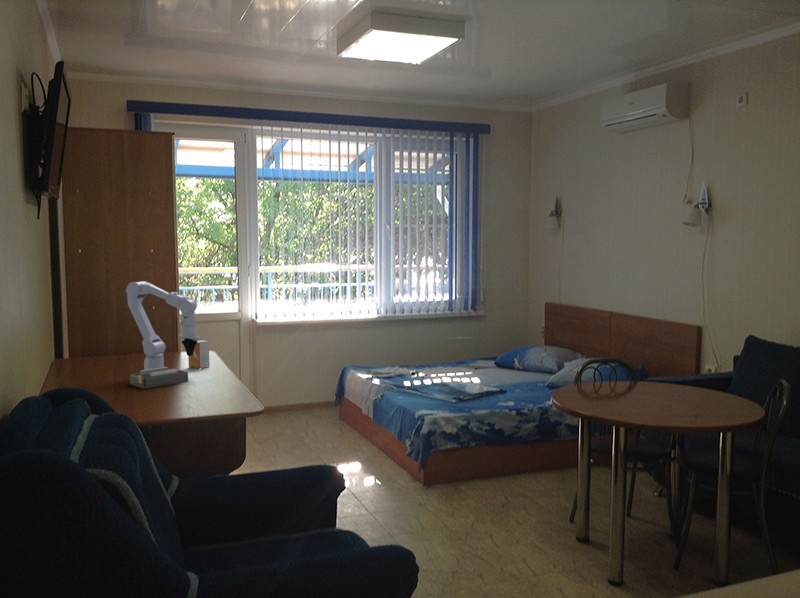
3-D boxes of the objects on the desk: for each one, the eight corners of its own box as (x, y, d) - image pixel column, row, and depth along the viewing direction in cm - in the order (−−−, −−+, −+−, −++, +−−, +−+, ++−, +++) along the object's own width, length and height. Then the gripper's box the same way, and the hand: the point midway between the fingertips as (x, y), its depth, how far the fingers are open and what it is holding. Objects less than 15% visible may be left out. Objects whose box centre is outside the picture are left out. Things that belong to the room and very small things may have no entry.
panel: (176, 380, 296) (175, 369, 296) (177, 380, 295) (177, 369, 295) (149, 384, 288) (149, 372, 287) (151, 385, 287) (150, 373, 286)
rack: (129, 384, 292) (128, 371, 291) (173, 377, 306) (173, 365, 306) (142, 388, 282) (142, 375, 282) (188, 381, 297) (187, 368, 296)
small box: (188, 367, 331) (187, 341, 330) (198, 365, 337) (197, 339, 336) (200, 368, 327) (199, 342, 326) (210, 366, 333) (209, 340, 332)
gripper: (172, 325, 309) (173, 355, 310) (190, 327, 300) (191, 358, 301) (185, 324, 314) (186, 353, 315) (203, 326, 305) (205, 356, 306)
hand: (190, 355), depth 308 cm, fingers closed
